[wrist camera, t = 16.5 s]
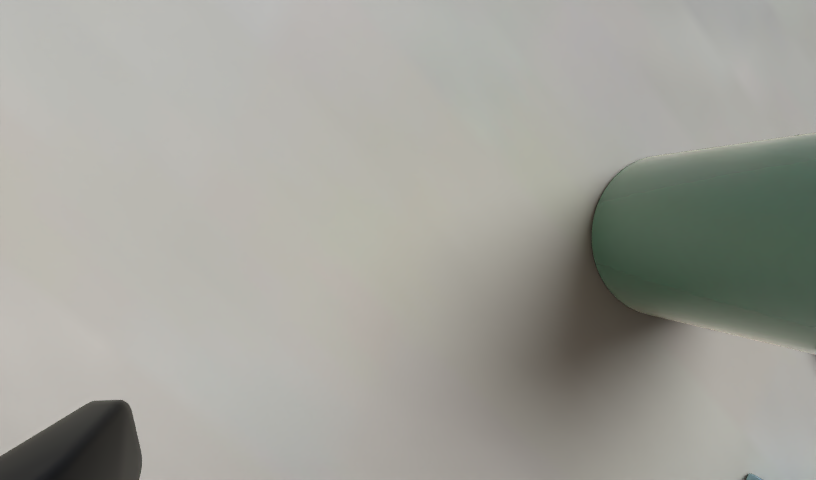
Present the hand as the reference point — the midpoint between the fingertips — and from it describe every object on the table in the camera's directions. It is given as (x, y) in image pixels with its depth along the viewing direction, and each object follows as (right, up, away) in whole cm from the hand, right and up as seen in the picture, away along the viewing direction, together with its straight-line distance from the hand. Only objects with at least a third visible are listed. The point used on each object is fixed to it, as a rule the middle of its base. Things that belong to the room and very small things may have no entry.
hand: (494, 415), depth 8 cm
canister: (+8, +2, +14) cm, 16 cm away
